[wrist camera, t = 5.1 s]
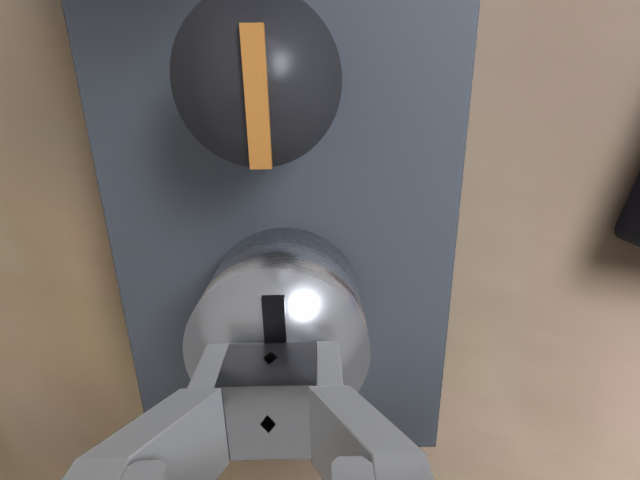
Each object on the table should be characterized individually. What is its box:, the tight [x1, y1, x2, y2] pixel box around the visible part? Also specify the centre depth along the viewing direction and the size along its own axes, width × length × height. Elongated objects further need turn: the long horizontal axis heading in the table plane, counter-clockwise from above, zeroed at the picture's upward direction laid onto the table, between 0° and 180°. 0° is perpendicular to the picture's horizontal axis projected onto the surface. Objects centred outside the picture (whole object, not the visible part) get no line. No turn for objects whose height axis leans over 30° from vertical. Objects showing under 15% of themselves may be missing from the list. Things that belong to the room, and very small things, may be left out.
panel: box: [61, 0, 480, 447], centre depth 12 cm, size 24×10×4 cm, turn 1°
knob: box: [183, 228, 371, 392], centre depth 13 cm, size 4×4×7 cm
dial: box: [169, 0, 342, 170], centre depth 9 cm, size 3×3×4 cm
